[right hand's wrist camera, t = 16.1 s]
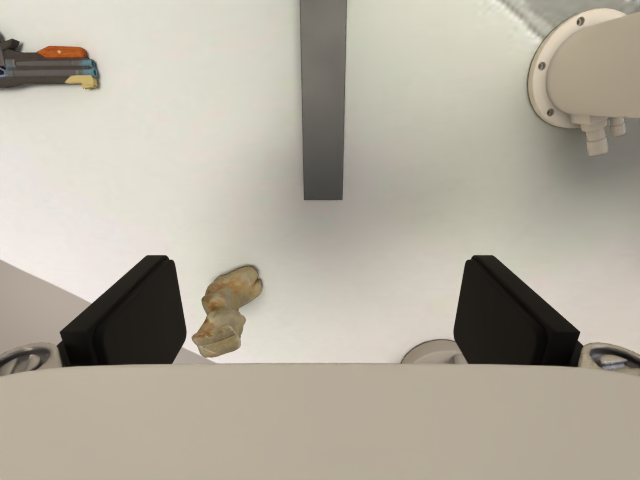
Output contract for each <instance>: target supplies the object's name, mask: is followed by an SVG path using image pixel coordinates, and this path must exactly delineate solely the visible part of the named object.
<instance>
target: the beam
mask: <svg viewBox="0 0 640 480" xmlns="http://www.w3.org/2000/svg"><path fill="white" fill-rule="evenodd" d="M346 15H347V0H300V26H301V75H302V124H303V173H304V200H342V195H343V150H344V105H345V60H346Z"/></svg>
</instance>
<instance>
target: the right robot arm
mask: <svg viewBox="0 0 640 480" xmlns="http://www.w3.org/2000/svg"><path fill="white" fill-rule="evenodd" d="M538 65H539V68H538ZM528 91H529V97H530V101H531V104H532V106H533V108H534V110H535V111H536V113H537V114H538V115H539V116H540V117H541V118H542V119H543V120H544V121H546V122H548V123H549V124H551V125H554V126H557V127H563V128H581V130H582V131H583V132H586V137H587V141H586V142H587V149H588V154H589V155H590V156H596V155H601V154H604V153H606V152H607V151H608V144H607V136H605V128H604V127H605V126H607V125H608V118H610V132H611V136H612V137H616V136H621V135H624V134H625V133H626V127H625V122H624V117H625V118H640V12H636V13H633V14H629V15H626V14H624V13H622V12H620V11H617V10H615V9H607V8H600V9H592V10H589V11H585V12H582V13H580V14H577V15H575V16H572V17H570V18H569V19H567V20H566V21H564V22H562V23H561V24H560V25H559V26H557V27H556V28H555V29H554V30H553V31H552V32H551V33H550V34H549V35H548V36H547V38H546V39H545V40H544V41H543V42H542V44H541V46H540V47H539V49H538V51H537V52H536V54H535V57H534V59H533V61H532V64H531V68H530V72H529V78H528ZM547 111H548V113H547ZM60 334H61V337H62V341H61V342H60V343H59V344H58V345H57V346H56V345H53V344H51V343H33V344H28V345H24V346H20V347H17V348H15V349H12V350H10V351H7V352H5V353H3V354H1V355H0V480H640V355H639V354H637V353H635V352H633V351H631V350H628V349H625V348H623V347H620V346H616V345H612V344H607V343H589V344H586V345H584V346H583V345H582V344H581V343H580V342H579V341H578V337H579V334H580V331H579V330H577V329H576V328H575V327H574V326H573V325H572V324H571V323H569V322H568V321H567V320H566V319H565V318H564V317H563V316H561V315H560V314H559V313H558V312H557V311H556V310H555V309H554V308H552V307H551V306H550V305H549V304H548V303H547V302H546V301H544V300H543V299H542V298H541V297H540V296H539V295H538V294H537V293H535V292H534V291H533V290H532V289H531V288H530V287H529V286H527V285H526V284H525V283H524V282H523V281H522V280H521V279H519V278H518V277H517V276H516V275H515V274H514V273H513V272H512V271H510V270H509V269H508V268H507V267H506V266H505V265H504V264H502V263H501V262H500V261H499V260H498V259H497V258H496V257H495V256H493V255H474V256H473V257H472V258H471V260H467V261H466V263H465V267H464V273H463V279H462V285H461V290H460V296H459V302H458V308H457V313H456V319H455V325H454V339H455V342H456V344H457V345H458V347H459V349H460V351H461V352H462V354H463V356H464V358H465V359H466V361H467V363H468V364H400V363H230V364H172V363H173V361H174V359H175V358H176V356H177V354H178V352H179V351H180V349H181V347H182V345H183V344H184V342H185V339H186V325H185V319H184V313H183V308H182V302H181V296H180V290H179V285H178V279H177V273H176V267H175V263H174V261H173V260H169V258H168V257H167V256H166V255H147V256H145V257H144V258H143V259H142V260H141V261H140V262H139V263H138V264H136V265H135V266H134V267H133V268H132V269H131V270H130V271H128V272H127V273H126V274H125V275H124V276H123V277H122V278H121V279H119V280H118V281H117V282H116V283H115V284H114V285H113V286H111V287H110V288H109V289H108V290H107V291H106V292H105V293H103V294H102V295H101V296H100V297H99V298H98V299H97V300H96V301H94V302H93V303H92V304H91V305H90V306H89V307H88V308H86V309H85V310H84V311H83V312H82V313H81V314H80V315H79V316H77V317H76V318H75V319H74V320H73V321H72V322H71V323H69V324H68V325H67V326H66V327H65V328H64V329H63V330H61V331H60Z"/></svg>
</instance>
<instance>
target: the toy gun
mask: <svg viewBox="0 0 640 480" xmlns="http://www.w3.org/2000/svg"><path fill="white" fill-rule="evenodd" d="M19 43H20V42H19V41H17V40H14V39H10V40H7V41H5V42H0V88H9V87H15V86H19V85H23V84H82V88H83V89H84V88H85V89H90V88H96V86H98V85H97V80H96V77H97V76H98V73H97V71H96V69H95V62H94V61H93V60H92V59H89V58H87V54H86V51H85V49H83V48H81V47H64V46H48V47H46V48H44V49H42V50H40V51H38V52H37V53H23V52H16V51H15V50H16V49H17V47H18V45H19Z"/></svg>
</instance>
